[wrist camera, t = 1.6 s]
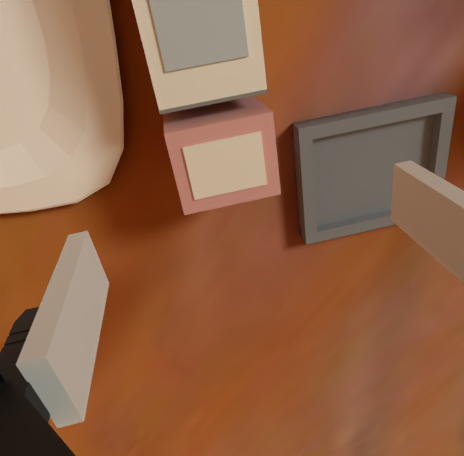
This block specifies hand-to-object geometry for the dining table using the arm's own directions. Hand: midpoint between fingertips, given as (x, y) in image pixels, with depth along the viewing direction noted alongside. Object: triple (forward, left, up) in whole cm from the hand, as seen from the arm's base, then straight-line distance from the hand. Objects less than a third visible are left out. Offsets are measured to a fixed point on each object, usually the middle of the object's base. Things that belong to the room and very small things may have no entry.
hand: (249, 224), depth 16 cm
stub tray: (+5, +12, -13) cm, 19 cm away
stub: (0, 0, -14) cm, 14 cm away
